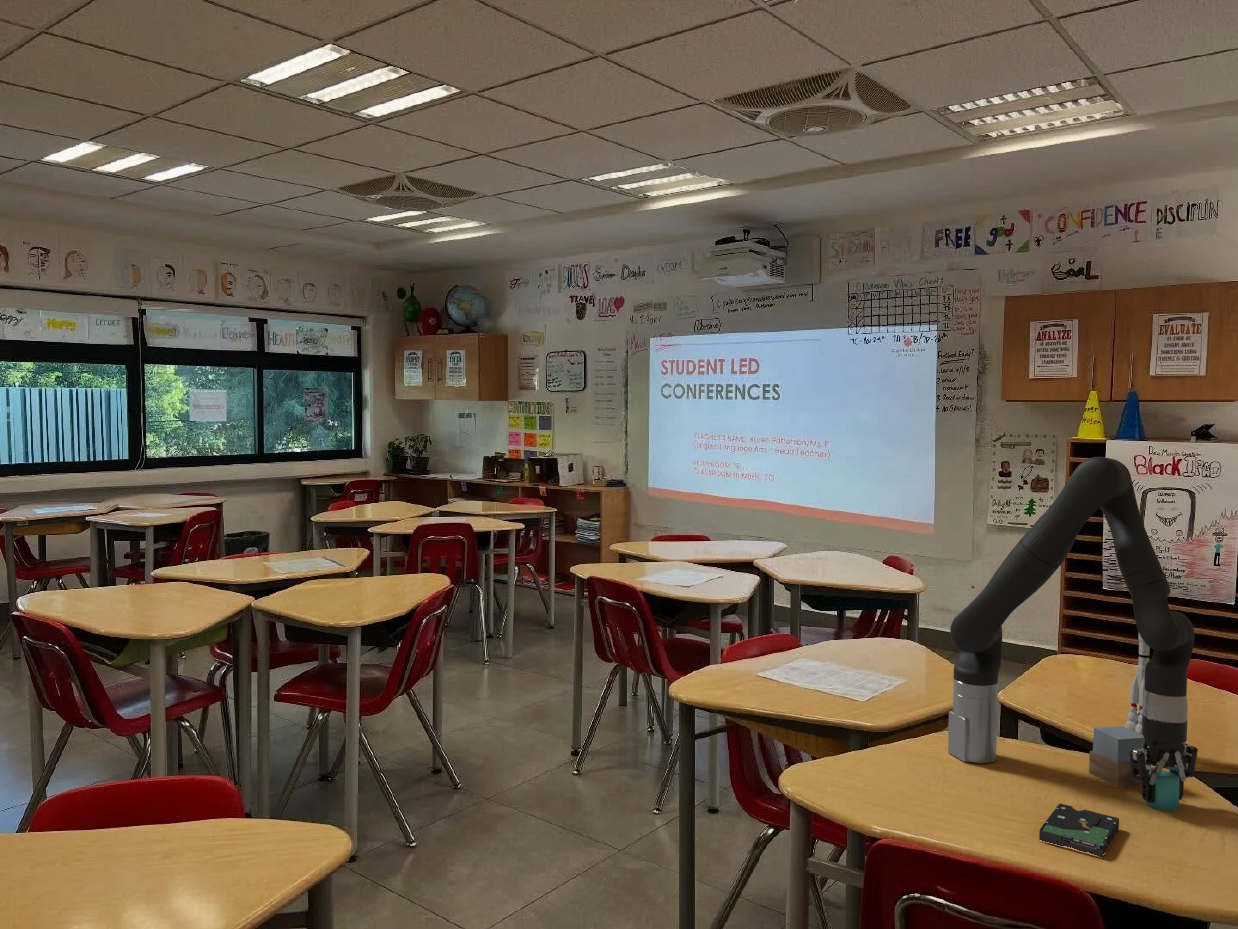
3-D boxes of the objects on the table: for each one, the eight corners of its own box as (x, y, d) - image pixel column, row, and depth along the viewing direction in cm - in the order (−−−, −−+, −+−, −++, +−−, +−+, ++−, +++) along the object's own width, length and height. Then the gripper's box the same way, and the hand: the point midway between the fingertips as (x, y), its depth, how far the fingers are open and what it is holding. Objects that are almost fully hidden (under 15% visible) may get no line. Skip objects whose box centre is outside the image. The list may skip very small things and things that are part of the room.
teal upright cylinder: (1161, 812, 170) (1162, 781, 170) (1138, 801, 176) (1139, 771, 175) (1185, 810, 172) (1186, 779, 171) (1162, 798, 177) (1163, 768, 177)
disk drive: (1057, 817, 169) (1038, 844, 158) (1058, 802, 169) (1038, 828, 158) (1119, 832, 163) (1103, 862, 151) (1119, 817, 163) (1104, 846, 151)
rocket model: (1157, 747, 205) (1161, 618, 204) (1162, 758, 199) (1166, 625, 197) (1121, 743, 208) (1124, 616, 207) (1124, 753, 202) (1128, 622, 200)
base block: (1117, 788, 182) (1118, 764, 182) (1088, 774, 190) (1089, 751, 190) (1150, 785, 184) (1151, 761, 184) (1120, 771, 192) (1121, 748, 191)
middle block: (1117, 763, 183) (1118, 739, 182) (1093, 751, 189) (1093, 728, 189) (1146, 761, 184) (1147, 737, 184) (1121, 749, 191) (1122, 726, 191)
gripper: (1179, 706, 178) (1176, 789, 179) (1118, 711, 175) (1116, 795, 176) (1211, 718, 171) (1209, 804, 172) (1149, 723, 168) (1146, 811, 168)
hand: (1162, 799), depth 174 cm, fingers open, 5 cm apart
